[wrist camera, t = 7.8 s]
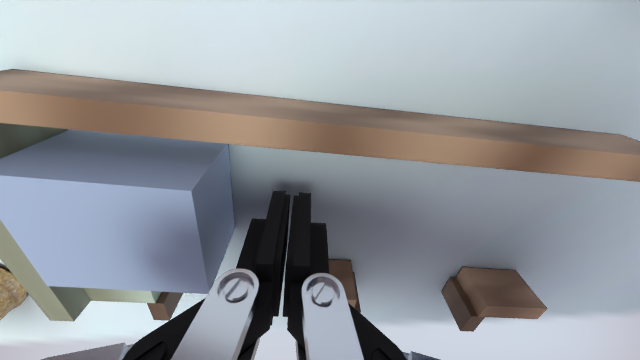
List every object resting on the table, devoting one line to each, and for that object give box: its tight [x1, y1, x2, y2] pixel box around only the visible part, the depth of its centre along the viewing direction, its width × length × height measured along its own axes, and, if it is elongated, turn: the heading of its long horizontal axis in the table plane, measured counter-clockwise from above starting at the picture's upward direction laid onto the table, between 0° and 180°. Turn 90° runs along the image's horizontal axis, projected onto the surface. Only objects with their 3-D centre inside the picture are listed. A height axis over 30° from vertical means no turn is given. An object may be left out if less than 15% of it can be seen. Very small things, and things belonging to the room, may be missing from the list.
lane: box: [0, 69, 640, 331], centre depth 11 cm, size 24×12×4 cm, turn 84°
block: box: [0, 129, 235, 294], centre depth 10 cm, size 6×5×4 cm
